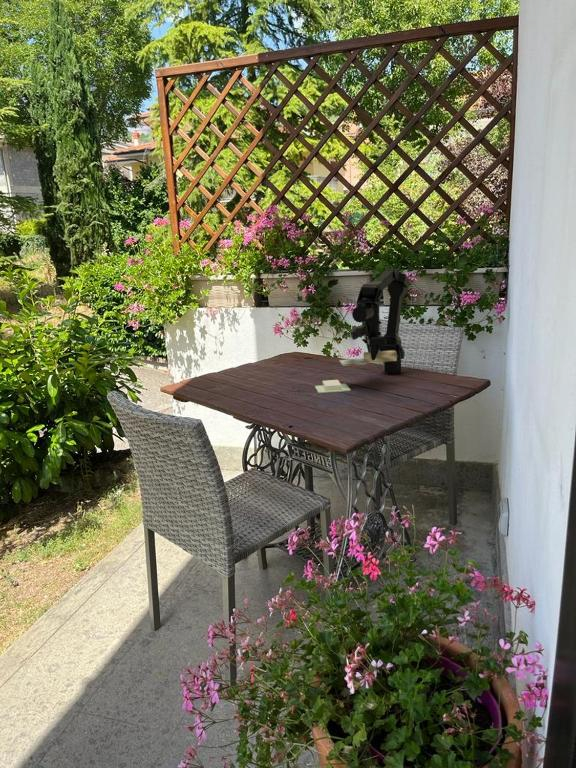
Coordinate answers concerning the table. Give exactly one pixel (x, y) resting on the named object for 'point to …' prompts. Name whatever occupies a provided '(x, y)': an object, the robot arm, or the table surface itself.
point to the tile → (331, 385)
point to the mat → (322, 390)
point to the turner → (381, 357)
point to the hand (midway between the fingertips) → (372, 359)
